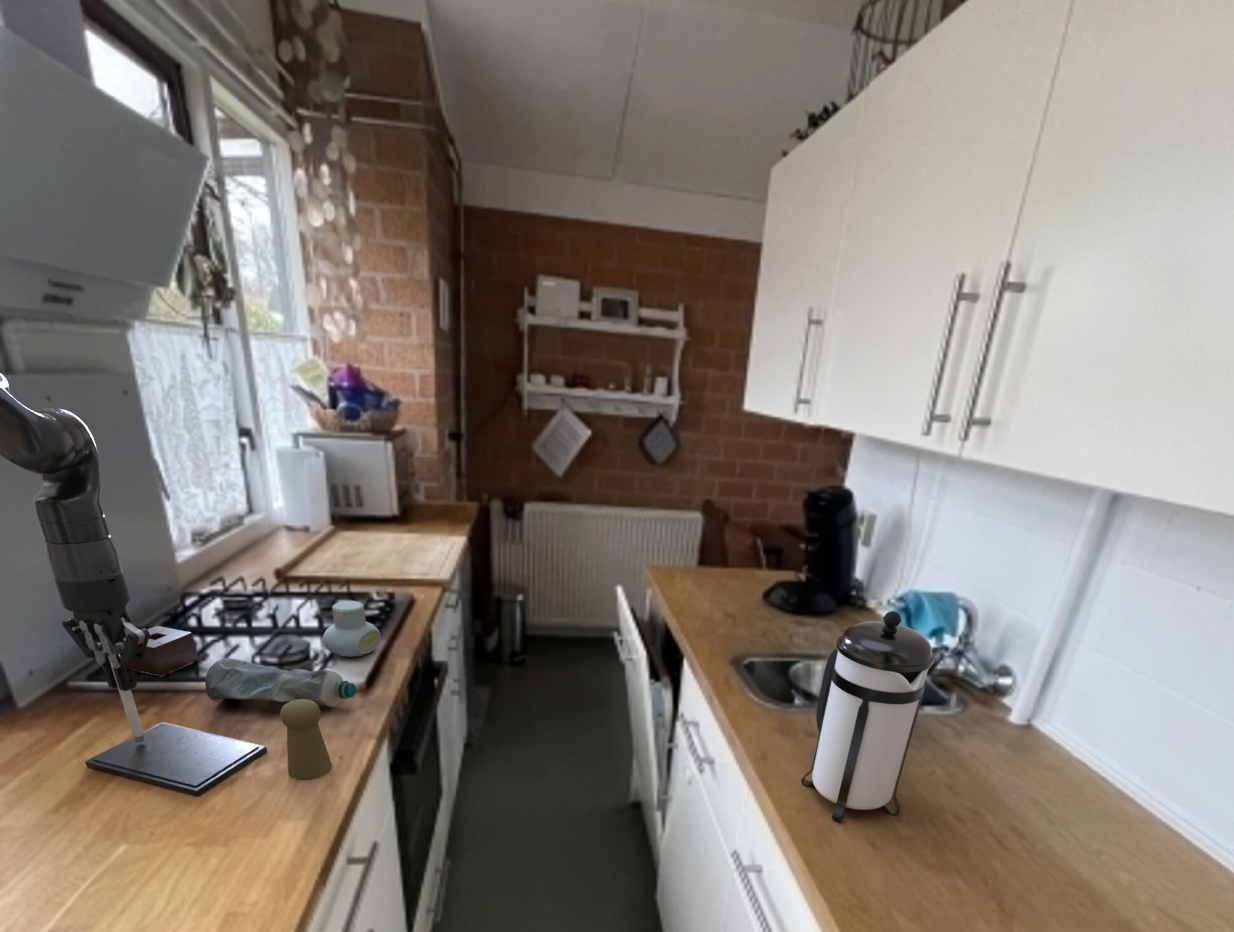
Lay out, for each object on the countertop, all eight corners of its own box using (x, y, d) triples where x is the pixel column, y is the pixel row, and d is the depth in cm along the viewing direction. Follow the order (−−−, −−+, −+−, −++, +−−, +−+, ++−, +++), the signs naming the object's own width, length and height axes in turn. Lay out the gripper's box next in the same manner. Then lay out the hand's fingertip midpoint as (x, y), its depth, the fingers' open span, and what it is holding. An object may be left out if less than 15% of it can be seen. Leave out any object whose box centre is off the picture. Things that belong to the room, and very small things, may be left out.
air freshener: (354, 639, 149) (348, 594, 144) (387, 646, 147) (382, 600, 142) (318, 657, 140) (310, 610, 135) (353, 665, 137) (346, 617, 133)
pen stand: (126, 670, 130) (117, 640, 127) (165, 654, 137) (157, 625, 134) (162, 678, 128) (153, 647, 125) (199, 661, 135) (192, 632, 132)
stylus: (132, 741, 105) (105, 656, 99) (140, 737, 106) (114, 652, 100) (139, 743, 105) (113, 658, 99) (148, 739, 106) (122, 654, 100)
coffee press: (913, 790, 110) (966, 609, 96) (882, 841, 98) (938, 641, 84) (808, 753, 118) (844, 581, 104) (769, 795, 106) (803, 607, 92)
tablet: (86, 767, 102) (83, 760, 101) (164, 726, 113) (162, 720, 112) (198, 796, 97) (196, 789, 96) (267, 751, 108) (266, 745, 108)
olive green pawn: (340, 766, 106) (330, 701, 101) (305, 784, 101) (293, 717, 96) (314, 753, 108) (303, 690, 103) (279, 770, 104) (265, 705, 99)
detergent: (194, 709, 118) (333, 726, 115) (186, 669, 115) (328, 685, 112) (245, 683, 130) (372, 697, 127) (239, 646, 127) (369, 659, 124)
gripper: (20, 571, 92) (62, 689, 100) (101, 586, 89) (137, 707, 97) (76, 557, 98) (111, 669, 106) (153, 570, 95) (183, 685, 103)
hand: (123, 687), depth 102 cm, fingers closed on stylus, 1 cm apart
